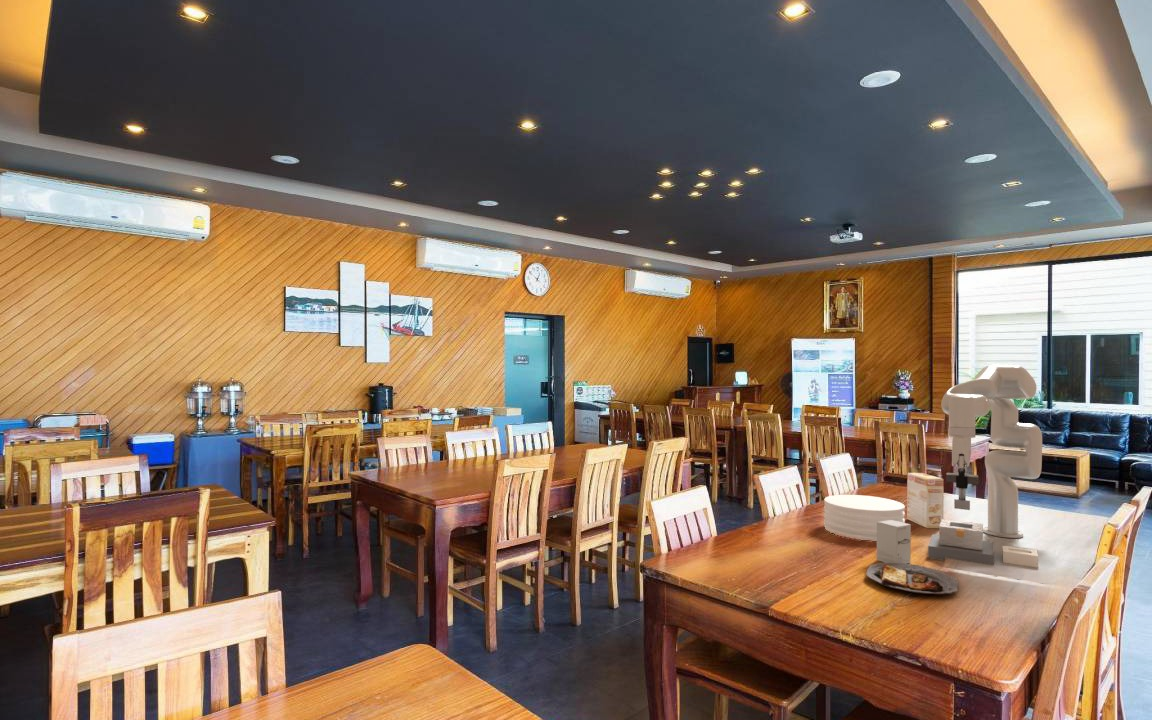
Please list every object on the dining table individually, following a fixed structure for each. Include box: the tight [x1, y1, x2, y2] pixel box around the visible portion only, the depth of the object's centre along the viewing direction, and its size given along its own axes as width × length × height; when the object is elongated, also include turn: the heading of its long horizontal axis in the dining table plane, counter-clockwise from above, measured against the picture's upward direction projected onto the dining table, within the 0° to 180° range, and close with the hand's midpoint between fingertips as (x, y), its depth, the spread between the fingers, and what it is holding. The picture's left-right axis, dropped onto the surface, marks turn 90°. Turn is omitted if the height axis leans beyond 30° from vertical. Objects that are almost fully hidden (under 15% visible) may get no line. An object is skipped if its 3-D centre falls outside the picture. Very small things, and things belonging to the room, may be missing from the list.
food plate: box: [865, 562, 959, 596], centre depth 181 cm, size 25×23×4 cm
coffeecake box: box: [906, 472, 945, 529], centre depth 252 cm, size 15×7×20 cm, turn 179°
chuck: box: [938, 518, 984, 550], centre depth 207 cm, size 15×12×6 cm
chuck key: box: [945, 472, 979, 511], centre depth 209 cm, size 5×9×11 cm, turn 57°
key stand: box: [1002, 545, 1039, 568], centre depth 200 cm, size 8×9×4 cm
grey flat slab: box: [927, 533, 995, 566], centre depth 209 cm, size 18×18×4 cm
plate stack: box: [823, 494, 906, 542], centre depth 239 cm, size 28×28×12 cm
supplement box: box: [876, 520, 912, 564], centre depth 202 cm, size 7×7×13 cm
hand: (962, 486), depth 209 cm, fingers closed on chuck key, 4 cm apart
